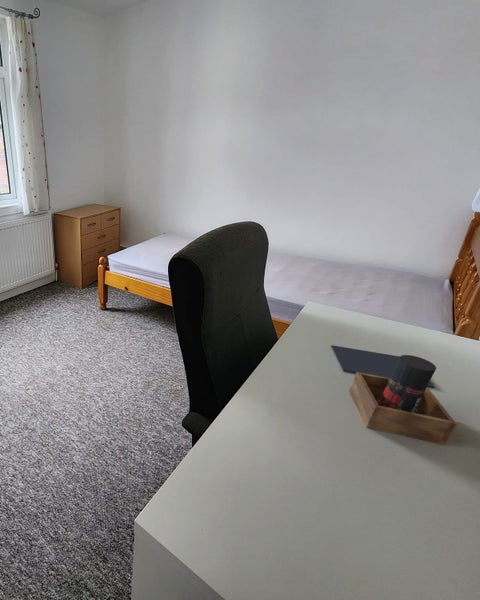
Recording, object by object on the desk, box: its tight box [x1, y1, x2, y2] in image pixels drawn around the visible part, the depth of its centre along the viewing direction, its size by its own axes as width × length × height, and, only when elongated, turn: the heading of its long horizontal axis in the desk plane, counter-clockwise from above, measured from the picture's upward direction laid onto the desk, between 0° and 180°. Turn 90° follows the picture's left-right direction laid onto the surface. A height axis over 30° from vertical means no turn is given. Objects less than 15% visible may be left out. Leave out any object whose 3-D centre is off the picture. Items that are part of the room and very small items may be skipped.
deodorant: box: [377, 354, 437, 413], centre depth 77 cm, size 6×6×15 cm
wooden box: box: [349, 372, 458, 446], centre depth 79 cm, size 14×14×6 cm
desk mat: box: [330, 344, 436, 389], centre depth 98 cm, size 20×14×1 cm
